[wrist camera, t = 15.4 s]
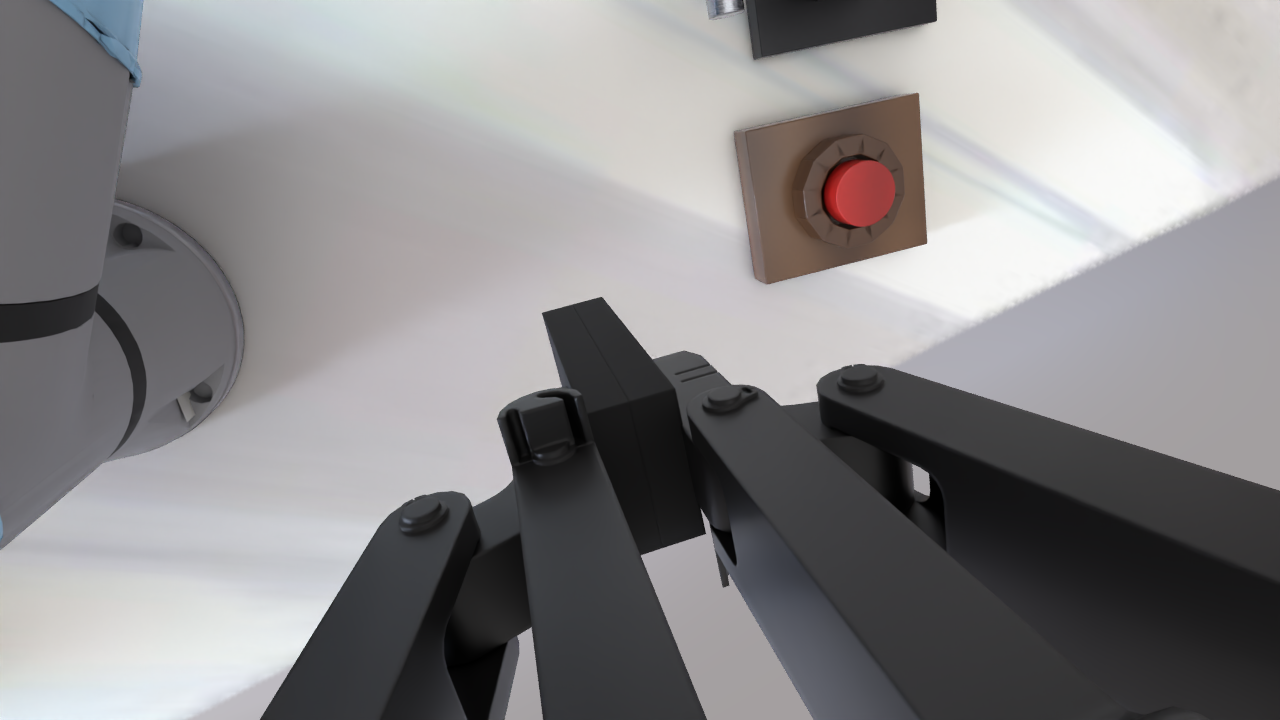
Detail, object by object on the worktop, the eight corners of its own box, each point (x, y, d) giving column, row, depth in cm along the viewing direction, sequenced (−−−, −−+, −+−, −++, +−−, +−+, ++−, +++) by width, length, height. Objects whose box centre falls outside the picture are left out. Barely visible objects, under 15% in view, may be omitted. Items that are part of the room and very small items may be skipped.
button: (826, 230, 44) (839, 233, 43) (819, 166, 43) (833, 167, 41) (882, 216, 45) (897, 218, 43) (877, 153, 44) (893, 154, 42)
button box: (754, 278, 48) (777, 290, 44) (733, 131, 45) (755, 130, 41) (909, 239, 50) (943, 247, 46) (900, 94, 46) (936, 90, 43)
